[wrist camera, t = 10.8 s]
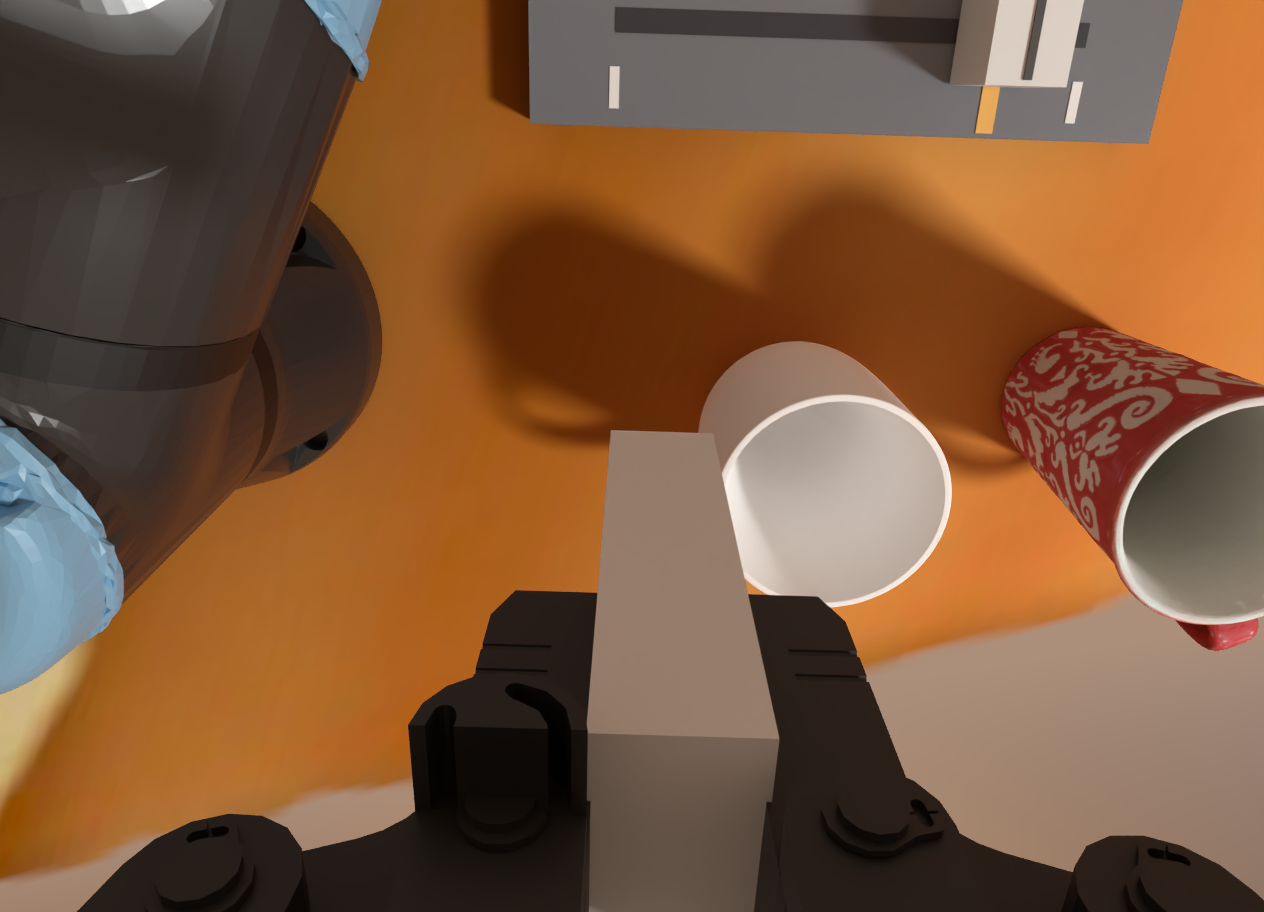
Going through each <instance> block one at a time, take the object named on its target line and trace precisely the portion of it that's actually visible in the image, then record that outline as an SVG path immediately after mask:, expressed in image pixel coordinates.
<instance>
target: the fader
mask: <svg viewBox="0 0 1264 912" xmlns="http://www.w3.org/2000/svg"><path fill="white" fill-rule="evenodd" d="M1083 3H1084V0H963V1H962V7H961V13H960V20H959V26H958V33H957V39H956V45H955V52H954V58H953V65H952V71H951V77H950V84H949V85H954V86H984V87H1014V88H1057V87H1067V82H1068V77H1069V72H1070V67H1071V62H1072V57H1073V52H1074V47H1075V42H1076V38H1077V33H1078V28H1079V23H1080V18H1081V13H1082V8H1083Z"/></svg>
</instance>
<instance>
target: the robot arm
mask: <svg viewBox="0 0 1264 912" xmlns="http://www.w3.org/2000/svg"><path fill="white" fill-rule="evenodd" d="M381 2H382V0H0V694H3V693H5V692H8V691H11V690H13V689H16V688H18V687H20V686H22V685H24V684H26V683H28V682H30V681H32V680H33V679H35V678H36V677H38V676H39V675H41V674H42V673H44V672H45V671H47V670H48V669H49V668H50V667H52V666H53V665H54V664H55V663H57V662H58V661H59V660H60V659H62V658H63V657H64V656H65V655H67V654H68V653H69V652H70V651H72V650H73V649H74V648H75V647H77V646H78V645H79V644H81V643H83V642H84V641H86V640H88V639H91V638H93V637H94V636H95V635H96V634H97V633H99V632H102V631H103V630H104V629H105V628H106V627H107V626H108V625H109V623H110V621H111V619H112V617H113V616H115V615H116V613H117V612H118V611H119V610H120V607H121V605H122V604H123V603H124V602H125V601H126V599H127V598H128V597H129V596H130V595H131V594H132V593H133V592H134V591H135V590H136V589H137V588H138V587H139V586H140V585H141V584H142V583H143V582H144V581H145V580H146V579H147V578H148V577H149V576H150V575H151V574H152V573H153V572H154V571H155V570H156V569H157V568H158V567H159V566H160V565H161V564H162V563H163V562H164V561H165V560H166V559H167V558H168V557H169V556H170V555H171V554H172V553H173V552H174V551H175V550H176V549H177V548H178V547H179V546H180V545H181V544H182V543H183V542H184V541H185V540H186V539H187V538H188V537H189V536H190V535H191V534H192V533H193V532H194V531H195V530H196V529H197V528H198V527H199V526H200V525H201V524H202V523H203V522H204V521H205V520H206V519H207V518H208V517H209V516H210V515H211V514H212V513H213V512H214V511H215V510H216V509H217V508H218V507H219V506H220V505H221V504H222V503H223V502H224V501H225V500H226V499H227V498H228V497H229V496H230V495H231V494H232V493H233V491H234V490H235V489H239V488H243V487H247V486H251V485H255V484H259V483H263V482H267V481H271V480H274V479H278V478H281V477H284V476H286V475H289V474H291V473H293V472H296V471H298V470H300V469H302V468H304V467H305V466H307V465H309V464H310V463H312V462H313V461H315V460H316V459H318V458H319V457H321V456H322V455H323V454H325V453H326V452H327V451H328V450H329V449H330V448H332V447H333V446H334V445H335V444H336V443H337V442H338V440H339V439H340V438H341V437H342V436H343V435H344V434H345V432H346V431H347V430H348V429H349V428H350V427H351V425H352V424H353V423H354V422H355V421H356V419H357V418H358V417H359V415H360V414H361V412H362V411H363V409H364V407H365V406H366V404H367V402H368V400H369V398H370V396H371V394H372V391H373V388H374V386H375V383H376V379H377V376H378V372H379V367H380V361H381V353H382V329H381V321H380V314H379V309H378V305H377V301H376V297H375V294H374V291H373V288H372V285H371V282H370V280H369V278H368V275H367V273H366V271H365V269H364V267H363V265H362V263H361V261H360V259H359V257H358V256H357V254H356V252H355V251H354V249H353V248H352V246H351V245H350V243H349V242H348V240H347V239H346V238H345V236H344V235H343V234H342V233H341V231H340V230H339V229H338V228H337V226H336V225H335V224H334V223H333V222H332V221H331V220H330V219H329V218H328V217H327V216H326V215H325V214H324V213H323V212H322V211H321V210H320V209H319V208H318V207H317V206H315V205H314V204H313V203H312V202H311V201H310V200H311V198H312V195H313V192H314V190H315V187H316V184H317V182H318V179H319V176H320V174H321V171H322V168H323V166H324V163H325V161H326V158H327V155H328V153H329V150H330V147H331V145H332V142H333V139H334V137H335V134H336V131H337V129H338V126H339V123H340V121H341V118H342V116H343V113H344V110H345V108H346V105H347V102H348V100H349V97H350V94H351V92H352V89H353V86H354V84H355V81H356V80H357V81H360V82H362V81H363V80H364V78H365V75H366V73H367V71H368V65H369V60H368V57H367V54H366V52H365V51H366V48H367V45H368V42H369V39H370V35H371V32H372V29H373V26H374V23H375V20H376V17H377V14H378V11H379V8H380V5H381ZM408 729H409V741H410V753H411V765H412V777H413V789H414V800H415V812H413V813H412V814H411V815H410V816H408V817H407V818H405V819H404V820H402V821H400V822H398V823H396V824H394V825H392V826H390V827H388V828H386V829H385V830H383V831H379V832H376V833H373V834H370V835H367V836H364V837H361V838H357V839H354V840H349V841H345V842H341V843H336V844H332V845H328V846H323V847H320V848H315V849H311V850H306V851H302V848H301V847H300V846H299V844H298V843H297V841H296V840H295V838H294V837H293V835H292V834H291V832H290V831H289V829H288V828H287V827H285V826H282V825H280V824H278V823H276V822H274V821H272V820H270V819H267V818H265V817H263V816H255V815H239V814H226V815H221V816H216V817H212V818H207V819H203V820H198V821H193V822H190V823H188V824H186V825H184V826H182V827H180V828H178V829H175V830H173V831H171V832H169V833H167V834H165V835H163V836H161V837H159V838H156V839H154V840H153V841H152V842H151V843H150V844H148V845H147V846H146V847H144V848H143V849H142V850H141V851H139V852H138V853H137V854H136V855H134V856H133V857H132V858H131V859H129V860H128V861H127V862H126V863H124V864H123V865H122V866H121V867H120V868H119V869H118V870H117V871H116V872H115V873H114V874H113V875H112V876H111V877H110V878H109V879H108V880H107V881H106V882H105V884H103V885H102V886H101V888H100V889H99V890H98V891H97V892H96V893H95V894H94V895H93V896H92V897H91V898H90V899H89V900H88V901H87V902H86V903H85V904H84V905H83V906H82V907H81V908H80V909H79V910H78V911H77V912H1264V900H1263V899H1262V898H1261V897H1260V896H1258V895H1257V894H1256V893H1255V892H1254V891H1253V890H1252V889H1250V888H1249V887H1248V886H1246V885H1245V884H1244V883H1242V882H1241V881H1240V880H1239V879H1237V878H1236V877H1235V876H1233V875H1232V874H1231V873H1229V872H1228V871H1227V870H1226V869H1224V868H1223V867H1222V866H1220V865H1219V864H1217V863H1215V862H1212V861H1211V860H1209V859H1207V858H1205V857H1202V856H1201V855H1199V854H1197V853H1194V852H1193V851H1191V850H1189V849H1186V848H1185V847H1183V846H1180V845H1176V844H1172V843H1168V842H1165V841H1161V840H1157V839H1154V838H1150V837H1146V836H1109V837H1106V838H1104V839H1102V840H1100V841H1097V842H1095V843H1093V844H1090V845H1088V846H1086V848H1085V850H1084V852H1083V853H1082V855H1081V857H1080V858H1079V860H1078V862H1077V863H1076V865H1075V868H1074V871H1073V872H1070V871H1066V870H1063V869H1059V868H1055V867H1052V866H1048V865H1045V864H1041V863H1038V862H1034V861H1030V860H1027V859H1024V858H1020V857H1016V856H1013V855H1009V854H1006V853H1003V852H1000V851H997V850H994V849H992V848H989V847H986V846H984V845H981V844H978V843H976V842H974V841H973V840H971V839H969V838H967V837H965V836H963V835H962V834H960V833H959V831H958V829H957V827H956V825H955V823H954V822H953V820H952V819H951V817H950V816H949V814H948V813H947V811H946V810H945V808H944V807H943V806H942V804H941V803H940V801H938V800H937V799H936V798H935V797H934V796H932V795H931V794H930V793H928V792H927V791H926V790H925V789H923V788H922V787H921V786H920V785H918V784H917V783H916V782H914V781H913V780H910V779H908V778H906V777H905V774H904V771H903V769H902V766H901V763H900V761H899V758H898V756H897V753H896V751H895V748H894V746H893V743H892V740H891V738H890V735H889V732H888V730H887V727H886V725H885V722H884V720H883V717H882V714H881V712H880V710H879V707H878V704H877V702H876V699H875V697H874V694H873V692H872V689H871V686H870V684H869V682H866V673H865V671H864V668H863V666H862V663H861V661H860V658H859V657H857V650H856V648H855V645H854V643H853V640H852V637H851V635H850V632H849V630H848V627H847V625H846V622H845V621H844V620H843V619H842V618H841V617H840V616H839V615H837V614H836V613H835V612H834V611H833V610H832V609H831V608H830V607H829V606H828V605H827V604H826V603H825V602H823V601H822V600H821V599H820V598H819V597H818V596H786V595H753V594H748V592H747V587H746V583H745V578H744V573H743V569H742V564H741V560H740V555H739V550H738V546H737V541H736V537H735V532H734V527H733V523H732V518H731V514H730V509H729V504H728V500H727V495H726V491H725V486H724V481H723V477H722V472H721V468H720V463H719V458H718V454H717V449H716V444H715V440H714V435H713V433H687V432H655V431H622V430H611V435H610V447H609V459H608V471H607V484H606V496H605V508H604V520H603V532H602V545H601V557H600V569H599V581H598V593H584V592H551V591H517V590H516V591H515V592H514V593H513V594H511V595H510V596H509V597H508V598H507V599H506V600H505V601H504V602H503V603H502V604H501V605H500V606H499V607H498V608H497V609H496V610H495V611H494V612H493V613H492V614H491V616H490V619H489V623H488V627H487V630H486V634H485V637H484V641H483V648H482V649H481V651H480V655H479V658H478V662H477V666H476V674H474V676H473V677H472V678H469V679H466V680H463V681H460V682H457V683H455V684H452V685H449V686H446V687H445V688H444V689H442V690H441V691H439V692H438V693H436V694H435V695H434V696H432V697H431V698H429V699H428V700H426V701H425V702H424V703H422V705H421V706H420V708H419V709H418V711H417V712H416V714H415V716H414V717H413V719H412V720H411V722H410V723H409V725H408Z"/></svg>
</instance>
